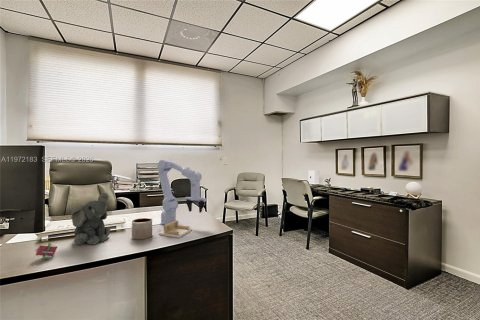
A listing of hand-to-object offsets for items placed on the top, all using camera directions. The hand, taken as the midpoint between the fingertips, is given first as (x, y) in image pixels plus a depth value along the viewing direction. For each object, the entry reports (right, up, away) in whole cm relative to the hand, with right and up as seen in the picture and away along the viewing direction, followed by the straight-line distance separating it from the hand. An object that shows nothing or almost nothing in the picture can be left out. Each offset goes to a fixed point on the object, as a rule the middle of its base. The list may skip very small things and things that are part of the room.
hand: (195, 211), depth 152 cm
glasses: (-9, -9, -13) cm, 18 cm away
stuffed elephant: (-52, -10, -25) cm, 59 cm away
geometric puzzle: (-58, -10, -48) cm, 76 cm away
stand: (-10, -10, -12) cm, 19 cm away
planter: (-27, -10, -19) cm, 35 cm away
